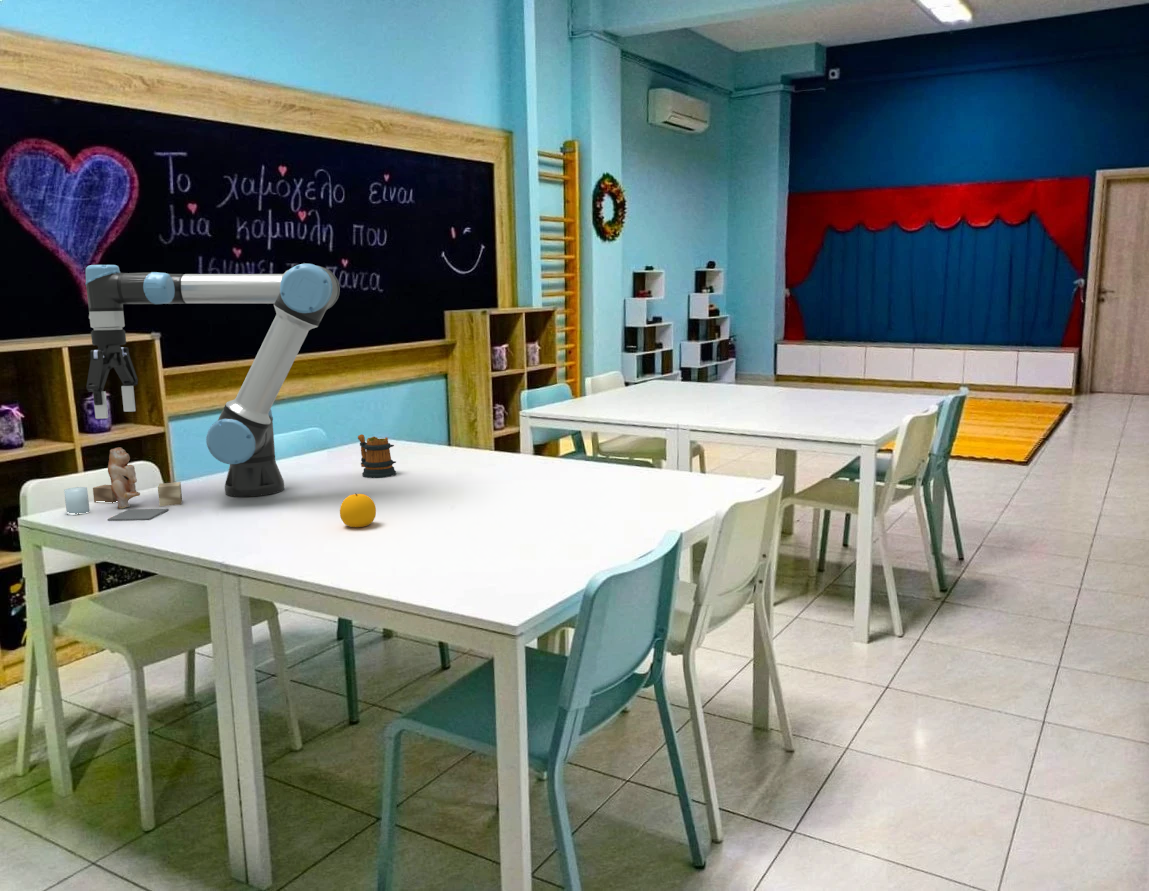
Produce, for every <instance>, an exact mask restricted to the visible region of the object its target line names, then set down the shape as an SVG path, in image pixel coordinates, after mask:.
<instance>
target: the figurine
mask: <svg viewBox="0 0 1149 891" xmlns="http://www.w3.org/2000/svg"><path fill="white" fill-rule="evenodd" d="M108 459H109V460H108V463H107V464H108V465H107V473H108V476H109V477H110V485H111V489H112V491H113V493H114V495H115V497H116V499H117V501H118V502H117V508H118V509H124V508H126V509H127V508H130V506H131V504H130V503H129V501H130V500H131V499H132V498H135V497H139V496H141V492H139V491H137V490H136V483H137V481H138V480H137V473H136V469H135V466H134V465H133V464H129V461H130V459H131V457H130V454H129V453H127V452H126V450H125V449H123V447H119V446H118V447H114V448H111V449H110V450H109V456H108Z"/></svg>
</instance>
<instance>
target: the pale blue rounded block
mask: <svg viewBox="0 0 1149 891" xmlns="http://www.w3.org/2000/svg"><path fill="white" fill-rule="evenodd" d="M63 490H64V491H63V492H64V502H65V509H66V513H67V512H69V513H75V514H77V513H78V514H79V513H86V512H89V511H90V503H89V502H90V501H89V493H88V487H86V486H76V487H70V488H66V489H63ZM89 513H90V512H89ZM86 514H87V513H86Z"/></svg>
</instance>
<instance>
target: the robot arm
mask: <svg viewBox="0 0 1149 891" xmlns="http://www.w3.org/2000/svg"><path fill="white" fill-rule="evenodd" d="M85 288H86V294H87V295H86V296H87V303H88V305H87V306H88V313H89V314H88V319H89V324H90V328H92V329H93V330H91V331H90V336H91V344H92V345H93V346H96V347H97V349H91V350H90V361H89V369H88V375H87V379H86V380H87V381H86V385H85V386H86V388H85V389H86V390H87V392H89V393H92V397H93V405H94V406H93V407H94V408H93V409H94V416H95V419H97V420H99V419H102V420H103V419H109V413H108V402H107V391H106V390H105V391H104V389H105V386H106V382H107V380H108V377H109V373H110V370H112V369H114V371H115V372H116V374H117V375H118V378H119V379H120V381H121V383H122V385H121V396H122V397H121V398H122V405H123V412H129V413H130V412H136V401H135V390H134V389H135V388H134V386H138V383H139V382H138V381H139V379H138V376H137V373H136V370H135V367H134V364H133V362H132V358H131V356H130V352H129V351H130V350H129V347H128V346H127V347H125V346H124V345H126V344H127V337H126V330H125V329H123V328H124V327H125V326H126V324H125V315H124V305H163V304H165V305H167V304H168V305H173V304H179V305H181V304H273V307H274V311H275V313H276V314H275V317H274V319H273V321H272V322H271V325H270V327H269V329H268V331H267V333H266V335H265V337H264V339H263V341H262V343H261V346H260V348H259V349H258V351H257V354H256V355H255V358H254V360H253V361H252V363H251V365H250V368H249V370H248V372H247V374H246V376H245V379H244V381H243V383H242V385H241V387H240V389H239V390H238V392H237V395H236V397H235V398H234V399H231V400H228V401H227V402H226V403H225V404H224V407H223V408H222V411H221V413H220V414H219V417H218V419H217V420H216V421H215V422H214V423H213V424H212V425H211V426H210V427H209V428H208V431H207V433H206V437H205V443H206V447H207V449H208V451H209V453H210V454H211V456H212V457H213V458H215V459H216V460H217V461H219V462H220V463H223V464H227V465H229V467H228V472H227V474H226V479H225V483H224V494H225V495H226V496H229V497H239V498H240V497H242V498H243V497H261V496H266V495H267V496H268V495H272V494H275V493H276V494H277V493H279V492H280V493H281V492H282V491H283V490H285V481H284V478H283V476H282V474H281V471H280V469H279V467H278V465H277V461H276V452H275V450H276V448H275V434H274V423H273V422H274V421H273V420H274V417H273V413H272V412H273V411H272V409H271V408H272V406H273V405H274V402H275V400H276V398H277V396H278V394H279V393H280V390H281V388H282V386H283V384H284V382H285V380H286V378H287V377H288V374H289V372H290V370H291V368H292V366H293V364H294V362H295V360H296V358H297V356H298V354H299V351H300V350H301V347H302V345H303V344H304V342H305V340H306V338H307V336H308V333H309V331H311V330H312V329H315V328H318V327H319V326H320V323H321V322H322V319H323V317H324V315H325V313H326V312H327V310H328V309H329V310H330V308H332V307H333V306H334V305H335V304H336V302H337V301H338V299H339V296H340V292H341V291H340V289H341V288H340V282H339V280H338V278H337V277H336V275H335V274H334V273H333V272H332V270H330V269H328V268H327V267H324V266H320V265H315V264H313V263H301V264H297V265H295V266H292V267H291V268H289V269H287V270H285V272H284V273H251V274H249V273H235V274H234V273H200V274H199V273H185V274H183V273H168V272H167V273H166V272H157V271H151V272H129V273H128V272H121V271H120V267H119V265H116V264H91V265H87V267H85ZM123 346H124V347H123Z"/></svg>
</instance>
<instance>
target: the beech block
mask: <svg viewBox="0 0 1149 891" xmlns="http://www.w3.org/2000/svg"><path fill="white" fill-rule="evenodd" d="M182 493H183V492H182V484H181V481H178V482H177V481H175V482H166V483H165V482H164V483H158V486H157V495H158V503H159V507H166V506H169V507H170V506H178V505H182V503H183V495H182Z"/></svg>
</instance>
